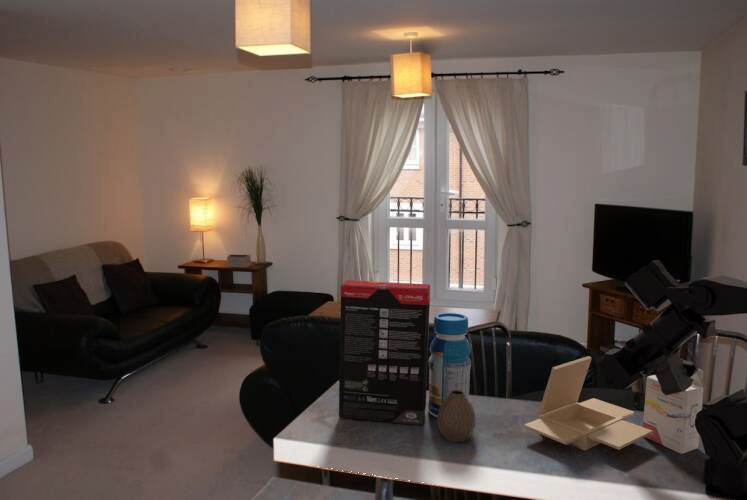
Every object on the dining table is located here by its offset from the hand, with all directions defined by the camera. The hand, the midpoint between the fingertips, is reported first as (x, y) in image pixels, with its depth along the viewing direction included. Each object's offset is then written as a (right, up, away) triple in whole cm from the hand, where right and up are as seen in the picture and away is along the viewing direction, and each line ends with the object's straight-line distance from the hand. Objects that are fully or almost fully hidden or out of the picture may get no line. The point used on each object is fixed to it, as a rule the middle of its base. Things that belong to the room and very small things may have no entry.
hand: (607, 383), depth 114 cm
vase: (-27, -11, +3) cm, 29 cm away
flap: (-6, -6, +9) cm, 13 cm away
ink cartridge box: (+12, -11, +2) cm, 17 cm away
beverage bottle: (-27, -9, +14) cm, 32 cm away
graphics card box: (-40, -9, +11) cm, 43 cm away
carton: (-1, -11, +3) cm, 11 cm away
